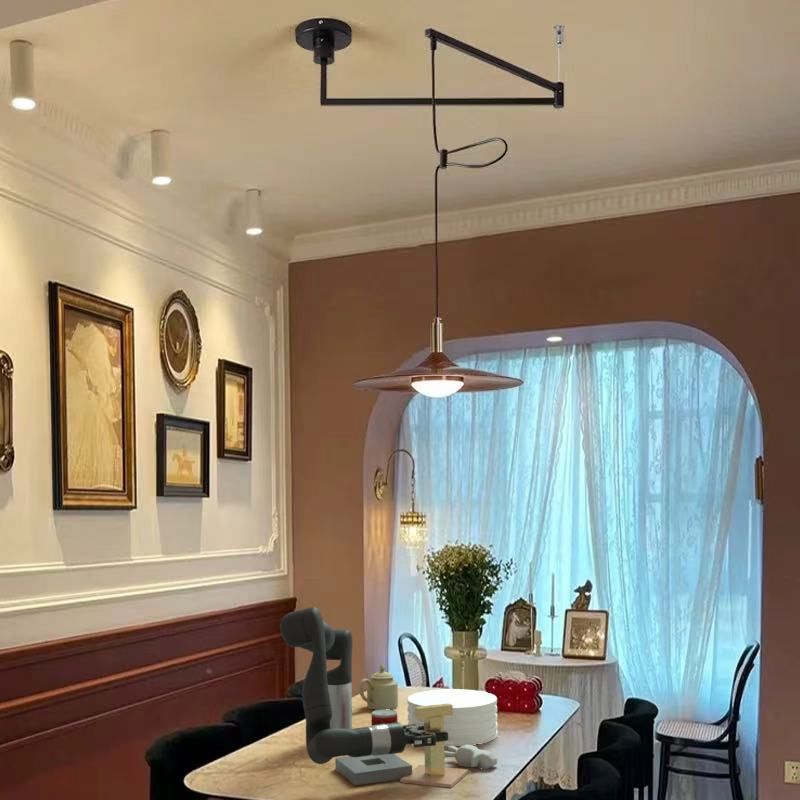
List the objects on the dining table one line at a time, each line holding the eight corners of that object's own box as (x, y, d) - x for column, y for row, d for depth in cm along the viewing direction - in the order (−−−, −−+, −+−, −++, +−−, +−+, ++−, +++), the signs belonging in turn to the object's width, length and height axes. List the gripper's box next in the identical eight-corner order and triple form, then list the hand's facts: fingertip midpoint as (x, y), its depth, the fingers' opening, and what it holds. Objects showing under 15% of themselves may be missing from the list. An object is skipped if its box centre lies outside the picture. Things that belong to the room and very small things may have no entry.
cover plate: (355, 785, 238) (355, 773, 239) (335, 769, 253) (335, 758, 253) (412, 777, 245) (412, 765, 245) (389, 762, 259) (389, 751, 260)
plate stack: (465, 752, 269) (464, 711, 270) (389, 739, 286) (389, 700, 287) (514, 732, 291) (513, 695, 292) (441, 721, 308) (440, 685, 309)
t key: (420, 778, 241) (419, 709, 243) (414, 774, 244) (413, 706, 246) (455, 773, 244) (453, 705, 246) (448, 769, 248) (447, 702, 250)
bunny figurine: (488, 758, 248) (438, 745, 255) (487, 777, 247) (436, 764, 254) (501, 749, 256) (452, 737, 263) (500, 768, 256) (450, 755, 263)
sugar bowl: (386, 713, 319) (386, 669, 321) (357, 711, 323) (357, 667, 325) (402, 704, 333) (401, 662, 335) (374, 702, 337) (373, 660, 339)
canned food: (379, 755, 266) (378, 716, 267) (367, 749, 273) (366, 711, 274) (402, 752, 270) (402, 713, 271) (390, 746, 277) (389, 708, 278)
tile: (400, 782, 240) (400, 779, 241) (419, 767, 253) (419, 764, 253) (451, 787, 235) (451, 784, 235) (468, 772, 248) (468, 769, 248)
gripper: (394, 730, 234) (452, 723, 240) (374, 718, 247) (429, 712, 253) (394, 761, 233) (452, 753, 239) (374, 747, 246) (429, 740, 252)
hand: (440, 732), depth 246 cm, fingers open, 8 cm apart
